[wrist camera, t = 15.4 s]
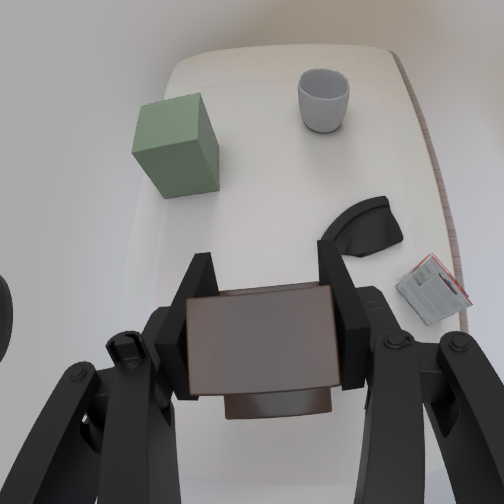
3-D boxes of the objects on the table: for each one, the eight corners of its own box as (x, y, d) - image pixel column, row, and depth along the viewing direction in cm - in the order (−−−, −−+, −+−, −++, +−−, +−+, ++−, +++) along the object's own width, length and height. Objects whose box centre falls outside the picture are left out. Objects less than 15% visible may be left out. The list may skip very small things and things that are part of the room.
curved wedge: (307, 221, 50) (308, 216, 49) (382, 198, 50) (384, 193, 48) (326, 269, 47) (327, 266, 46) (403, 242, 47) (406, 238, 45)
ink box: (409, 272, 45) (447, 235, 32) (440, 310, 42) (489, 286, 29) (393, 287, 45) (429, 255, 31) (425, 326, 42) (472, 308, 28)
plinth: (164, 198, 55) (131, 152, 42) (168, 154, 59) (140, 106, 46) (219, 190, 54) (197, 139, 41) (218, 146, 58) (200, 92, 45)
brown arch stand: (249, 402, 21) (183, 448, 8) (243, 316, 24) (176, 247, 10) (319, 396, 21) (355, 440, 8) (311, 309, 23) (332, 230, 10)
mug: (348, 138, 55) (354, 100, 46) (300, 138, 56) (299, 99, 47) (339, 94, 59) (342, 57, 50) (296, 93, 60) (294, 56, 51)
